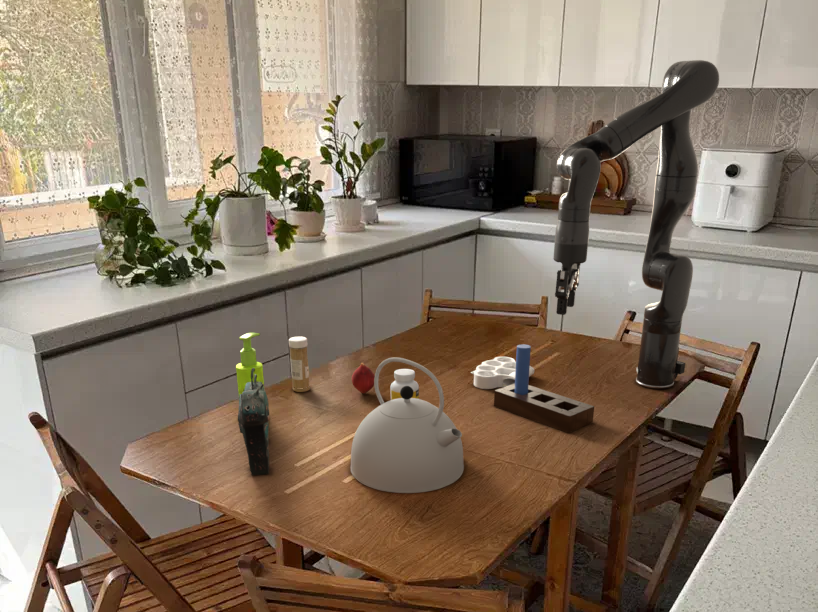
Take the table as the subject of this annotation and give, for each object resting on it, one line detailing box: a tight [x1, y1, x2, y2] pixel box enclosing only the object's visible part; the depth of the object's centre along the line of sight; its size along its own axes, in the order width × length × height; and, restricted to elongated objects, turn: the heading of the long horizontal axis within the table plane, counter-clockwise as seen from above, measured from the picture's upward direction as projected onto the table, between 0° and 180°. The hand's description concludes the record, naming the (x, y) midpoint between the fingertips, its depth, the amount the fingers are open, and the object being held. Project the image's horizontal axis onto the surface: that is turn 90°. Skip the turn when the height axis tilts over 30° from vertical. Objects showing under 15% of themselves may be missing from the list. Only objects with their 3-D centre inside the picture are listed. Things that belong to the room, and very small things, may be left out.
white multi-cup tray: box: [470, 356, 536, 390], centre depth 204 cm, size 3×18×15 cm
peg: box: [514, 343, 532, 395], centre depth 184 cm, size 3×3×15 cm
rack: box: [493, 384, 595, 434], centre depth 182 cm, size 9×22×4 cm, turn 42°
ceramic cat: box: [237, 368, 271, 476], centre depth 157 cm, size 20×6×20 cm, turn 9°
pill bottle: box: [389, 368, 420, 400], centre depth 177 cm, size 6×6×12 cm
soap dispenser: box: [235, 331, 265, 396], centre depth 177 cm, size 6×7×20 cm
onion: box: [351, 362, 375, 395], centre depth 194 cm, size 6×6×8 cm
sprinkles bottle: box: [288, 335, 311, 393], centre depth 196 cm, size 5×5×13 cm
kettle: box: [350, 356, 465, 494], centre depth 152 cm, size 25×23×22 cm
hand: (565, 310), depth 185 cm, fingers open, 8 cm apart
